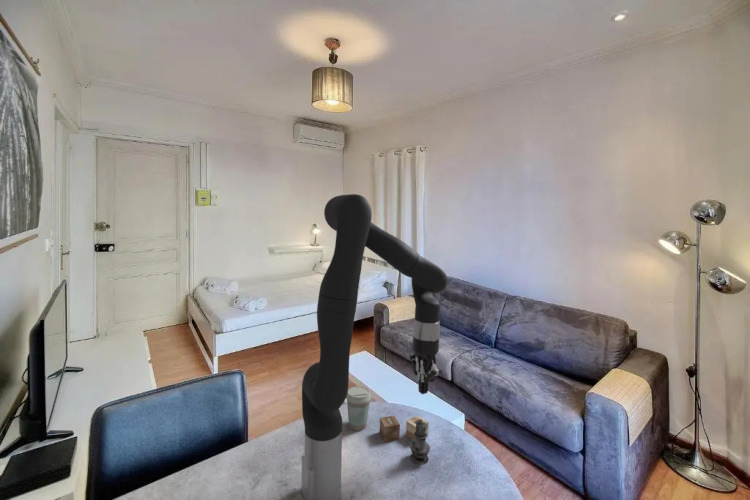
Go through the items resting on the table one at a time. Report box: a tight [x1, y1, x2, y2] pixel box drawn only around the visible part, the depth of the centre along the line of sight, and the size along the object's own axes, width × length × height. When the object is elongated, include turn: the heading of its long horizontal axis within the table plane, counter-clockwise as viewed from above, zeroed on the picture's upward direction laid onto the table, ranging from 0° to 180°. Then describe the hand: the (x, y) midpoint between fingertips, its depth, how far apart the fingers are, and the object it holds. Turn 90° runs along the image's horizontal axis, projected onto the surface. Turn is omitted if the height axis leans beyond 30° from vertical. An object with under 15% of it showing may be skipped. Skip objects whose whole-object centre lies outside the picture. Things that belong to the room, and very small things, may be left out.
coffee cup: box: [345, 385, 372, 432], centre depth 114 cm, size 8×8×12 cm
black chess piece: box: [409, 418, 431, 466], centre depth 100 cm, size 6×6×12 cm
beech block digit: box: [405, 414, 430, 441], centre depth 110 cm, size 5×5×5 cm
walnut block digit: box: [379, 415, 401, 443], centre depth 110 cm, size 5×5×5 cm
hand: (423, 392), depth 100 cm, fingers closed
